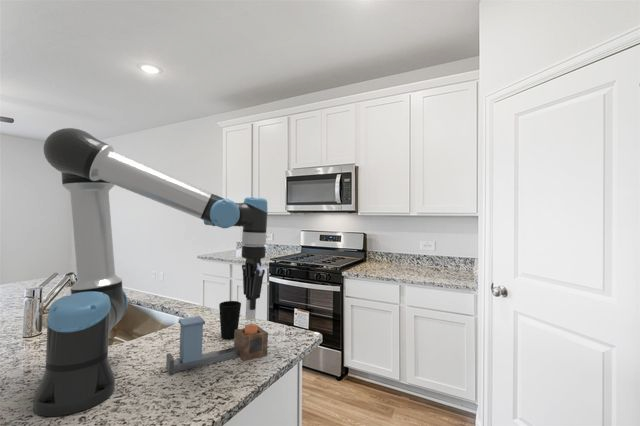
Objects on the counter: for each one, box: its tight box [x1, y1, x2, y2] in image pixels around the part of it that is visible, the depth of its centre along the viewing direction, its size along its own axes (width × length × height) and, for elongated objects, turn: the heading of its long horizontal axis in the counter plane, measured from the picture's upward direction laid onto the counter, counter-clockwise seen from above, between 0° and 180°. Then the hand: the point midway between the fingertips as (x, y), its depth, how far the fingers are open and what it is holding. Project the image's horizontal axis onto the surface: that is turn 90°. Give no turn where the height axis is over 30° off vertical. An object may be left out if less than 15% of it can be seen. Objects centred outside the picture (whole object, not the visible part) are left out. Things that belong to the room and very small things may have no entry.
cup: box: [218, 300, 242, 341], centre depth 113 cm, size 8×8×12 cm
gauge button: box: [244, 323, 259, 335], centre depth 100 cm, size 4×4×4 cm
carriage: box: [178, 315, 206, 363], centre depth 91 cm, size 6×6×11 cm
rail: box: [165, 346, 240, 376], centre depth 93 cm, size 21×5×4 cm, turn 126°
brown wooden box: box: [233, 325, 269, 362], centre depth 100 cm, size 8×8×7 cm
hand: (250, 318), depth 100 cm, fingers closed
